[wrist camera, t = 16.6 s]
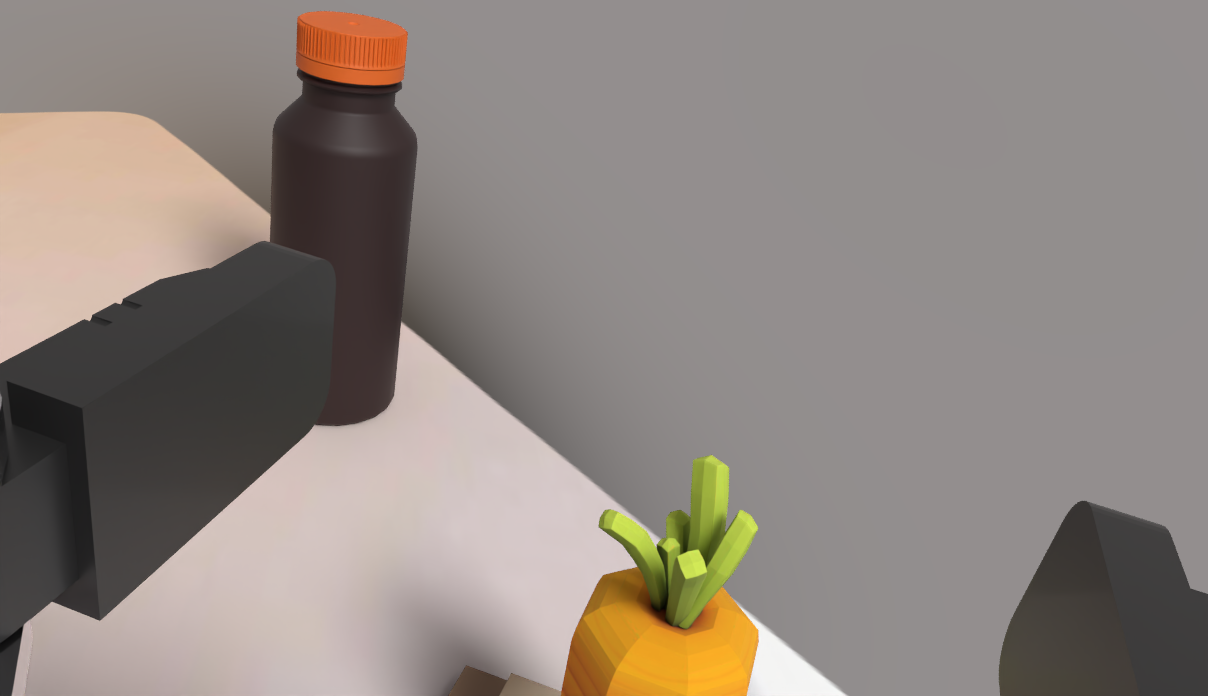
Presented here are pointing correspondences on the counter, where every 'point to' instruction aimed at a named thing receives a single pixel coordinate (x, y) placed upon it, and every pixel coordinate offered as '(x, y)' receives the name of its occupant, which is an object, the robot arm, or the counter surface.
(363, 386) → the bottle
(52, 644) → the counter surface
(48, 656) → the counter surface
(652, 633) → the carrot
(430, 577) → the counter surface
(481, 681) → the beige wooden tray
